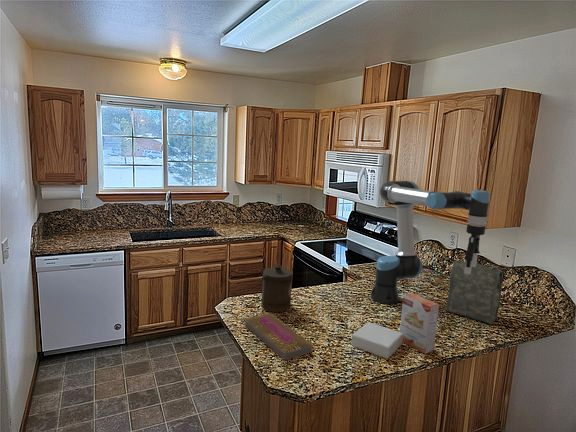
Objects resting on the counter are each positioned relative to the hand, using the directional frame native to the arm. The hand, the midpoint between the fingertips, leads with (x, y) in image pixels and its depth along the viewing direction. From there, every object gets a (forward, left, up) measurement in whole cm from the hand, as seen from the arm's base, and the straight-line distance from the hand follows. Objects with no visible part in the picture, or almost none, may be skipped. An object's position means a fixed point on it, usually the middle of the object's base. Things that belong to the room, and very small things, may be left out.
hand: (469, 270), depth 181 cm
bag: (0, +19, -28) cm, 34 cm away
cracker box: (-11, -33, -28) cm, 45 cm away
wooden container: (-80, -41, -28) cm, 94 cm away
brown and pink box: (-59, -67, -29) cm, 94 cm away
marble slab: (-24, -43, -29) cm, 57 cm away
